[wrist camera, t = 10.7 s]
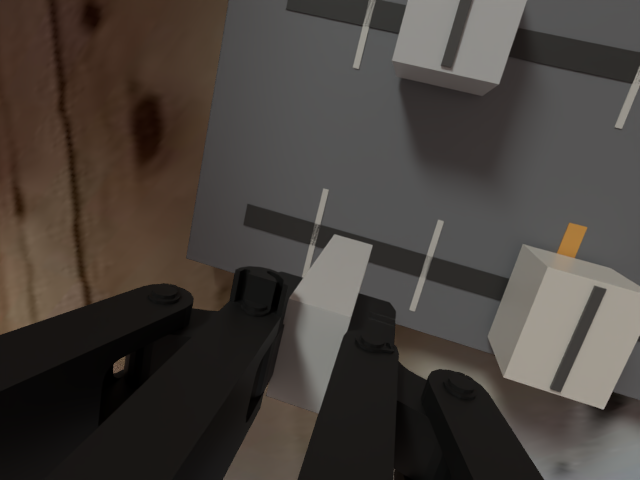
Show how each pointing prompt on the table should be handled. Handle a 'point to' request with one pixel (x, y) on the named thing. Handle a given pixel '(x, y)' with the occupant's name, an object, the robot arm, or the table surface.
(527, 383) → the fader rear
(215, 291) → the table surface
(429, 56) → the fader front
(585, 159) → the console
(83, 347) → the robot arm
